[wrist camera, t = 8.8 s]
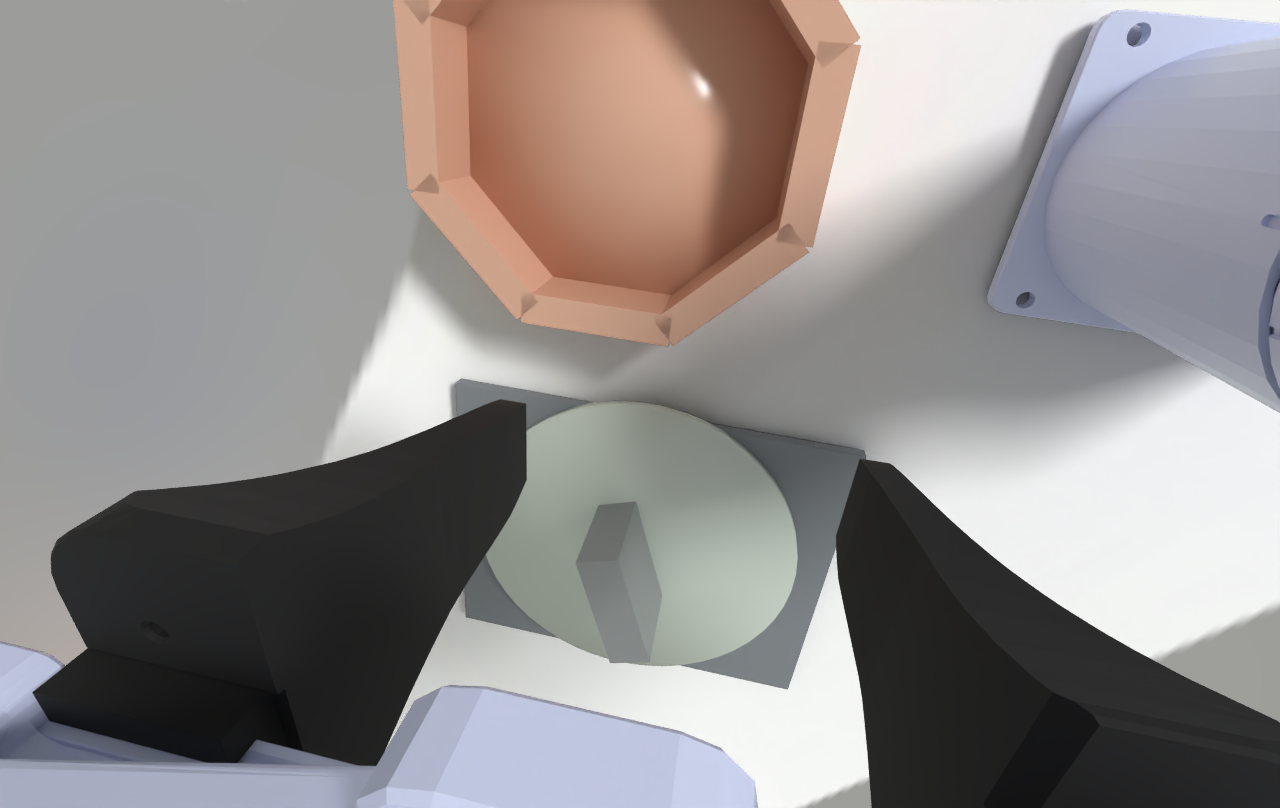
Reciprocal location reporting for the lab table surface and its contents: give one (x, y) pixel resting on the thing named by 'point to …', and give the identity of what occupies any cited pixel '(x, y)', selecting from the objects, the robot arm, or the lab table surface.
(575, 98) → the bowl
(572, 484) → the lid
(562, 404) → the mat
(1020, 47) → the lab table surface
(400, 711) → the robot arm
